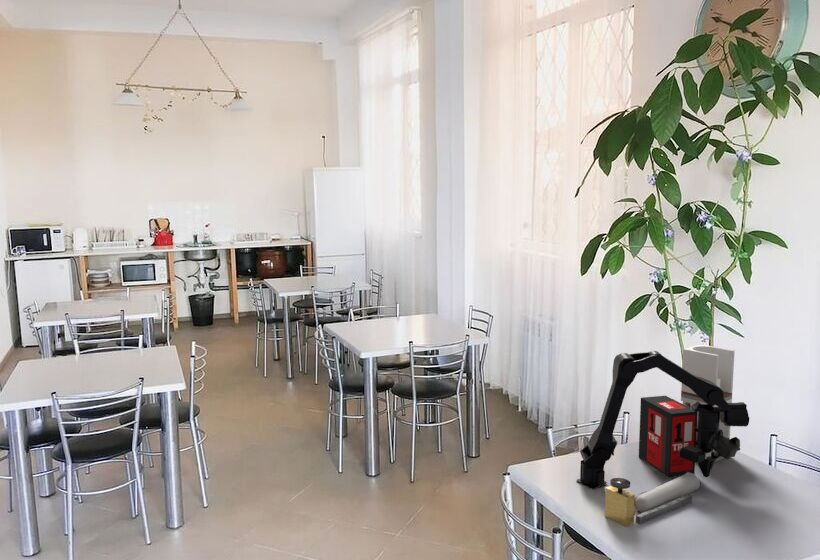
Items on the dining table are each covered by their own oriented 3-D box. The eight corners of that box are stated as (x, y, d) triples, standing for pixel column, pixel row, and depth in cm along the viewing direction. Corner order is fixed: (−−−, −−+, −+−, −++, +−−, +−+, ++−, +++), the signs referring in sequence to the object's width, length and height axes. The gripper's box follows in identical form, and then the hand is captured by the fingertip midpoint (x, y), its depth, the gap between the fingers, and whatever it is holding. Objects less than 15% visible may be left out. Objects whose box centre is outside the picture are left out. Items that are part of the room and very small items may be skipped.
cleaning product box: (638, 457, 226) (640, 397, 224) (663, 454, 228) (665, 395, 226) (668, 477, 210) (671, 413, 208) (694, 474, 212) (697, 411, 210)
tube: (650, 505, 184) (702, 479, 199) (634, 492, 188) (686, 468, 203) (644, 520, 186) (696, 494, 201) (628, 507, 190) (680, 483, 205)
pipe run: (599, 515, 186) (600, 477, 185) (663, 491, 201) (665, 455, 200) (626, 529, 179) (628, 490, 177) (692, 503, 193) (693, 466, 192)
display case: (678, 453, 229) (683, 349, 225) (696, 445, 236) (701, 344, 231) (711, 463, 220) (716, 355, 216) (728, 455, 227) (734, 350, 222)
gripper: (714, 440, 190) (711, 494, 192) (753, 427, 200) (750, 478, 202) (678, 428, 199) (676, 480, 201) (718, 416, 209) (715, 466, 212)
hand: (705, 476), depth 204 cm, fingers closed
